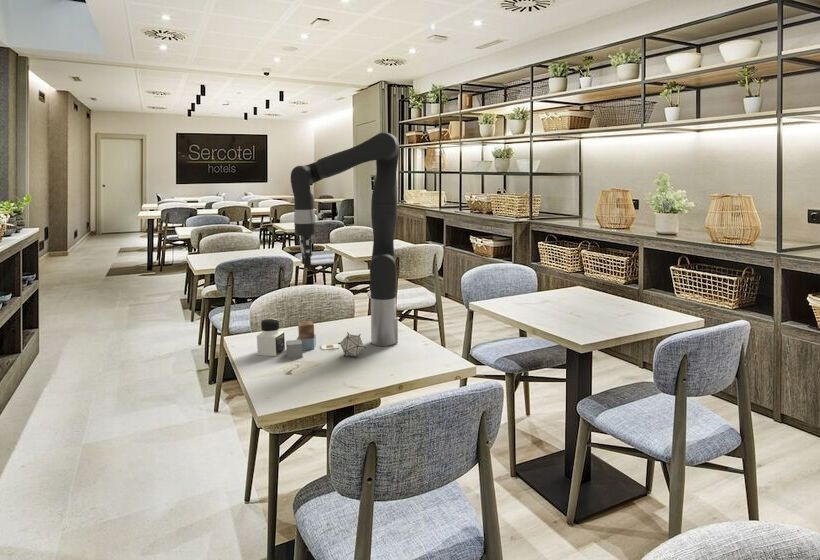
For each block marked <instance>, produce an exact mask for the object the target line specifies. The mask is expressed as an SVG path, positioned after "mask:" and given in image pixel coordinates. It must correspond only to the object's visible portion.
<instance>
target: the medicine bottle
mask: <svg viewBox="0 0 820 560" xmlns="http://www.w3.org/2000/svg"><path fill="white" fill-rule="evenodd" d="M260 324H261V325H260V327H261V328H260V329H261V333H258V335H257V336H256V341H257V342H256V347H257V356H263V357H278V356H279V355H281V354H282V353H283V352H285V350H286V344H285V343H286V342H285V331H284V330H280V321H279V319H276V318H271V317H270V318H265V319H263V320H262V321H260Z"/></svg>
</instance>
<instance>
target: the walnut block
mask: <svg viewBox="0 0 820 560" xmlns="http://www.w3.org/2000/svg"><path fill="white" fill-rule="evenodd" d="M297 326H298V327H297V329H298V330H297V331H298V336H299V338H300V339H311V338H314V334H315V325H314V323H313V320H312V321H309V320H307V321H298V322H297Z"/></svg>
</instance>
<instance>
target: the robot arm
mask: <svg viewBox="0 0 820 560" xmlns="http://www.w3.org/2000/svg"><path fill="white" fill-rule="evenodd" d="M399 156H400V142H399V140H398V138H397V137H396V136H395V135H394V134H392V133H390V132H385V131H383V132H379V133H376V135H374V136H372V137H370V138H368V139H366V140H365V141H363V142H362V143H359V144H358V145H355V146H352V147H350V148H348V149H347V148H346V149H344V150H341V151H338V152H336V153H332V154H330V155H326V156H324V157H321V158H319V159H318V160H316V161H315V162H312V163H309V164H305V165H296V166H295V167H293V168H292V170H291V172H290V184H291V186H290V187H291V190H292V194H293V199H294V200H293V201H294V203H293V204H294V213H293V220H294V222H293V223H294V235H295V236H297V237H298V236H300V237H299V238H300V239H299V245H300V247H299V248H300V249H299V250H300V253H301V261H302V262H301V263H302V265H304V268H305V269H311V267H312V260H311V258H312V256H313V253H312V252H313V249H312V248H313V247H312V243H313V242H312V241H313V240H312V239H311V238H310V237H311V236H315V235H316V234H317V233H316V231H317V230H316V228H317V227H316V213H315V198H314V194H313V193H312V192H311V185H313V184H315V183H317V182H320V181H321V180H324V179H327V178H331V177H333V176H336V175H340V174H342V173H344V172H346V171H348V170H351V169H353V168H355V167H356V166H359V165H361V164H364V163H367V162H373V161H375V164H376V165H375V166H376V168H375V170H376V171H375V172H376V174H375V178H374V179H375V180H374V183H373V188H372V194H371V202H370V203H371V205H370V216H371V217H370V218H371V228H372V235H373V236H372V237H373V240H372V241H373V242H372V244H373V245H372V253H371V254H372V255H371V259H370V260H371V261H370V264H369V283H370V285H369V288H370V289H369V290H370V292H369V293H370V330H371V331H370V334H371V335H370V340H371V341H370V342H371V345H375V346H379V347H380V346H381V347H386V346H393V345H395V344H396V345H397V344H399V343H398V342H399V338H398V337H399V330H398V329H399V323H398V318H397V266H396V258H395V248H394V239H395V232H396V227H397V220H398V219H397V218H398V217H397V216H398V181H397V173H398V162H399V161H398V160H399Z"/></svg>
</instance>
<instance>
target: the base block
mask: <svg viewBox="0 0 820 560" xmlns="http://www.w3.org/2000/svg"><path fill="white" fill-rule="evenodd" d="M296 340H301V342H302V351H304V350H307V349H308V350H309V349H311V350H315V348H316V346H317V335H316V333H314V338H311V339H300V338H299V335H298V336H297V338H296ZM308 350H307V351H308ZM309 351H310V350H309Z"/></svg>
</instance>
